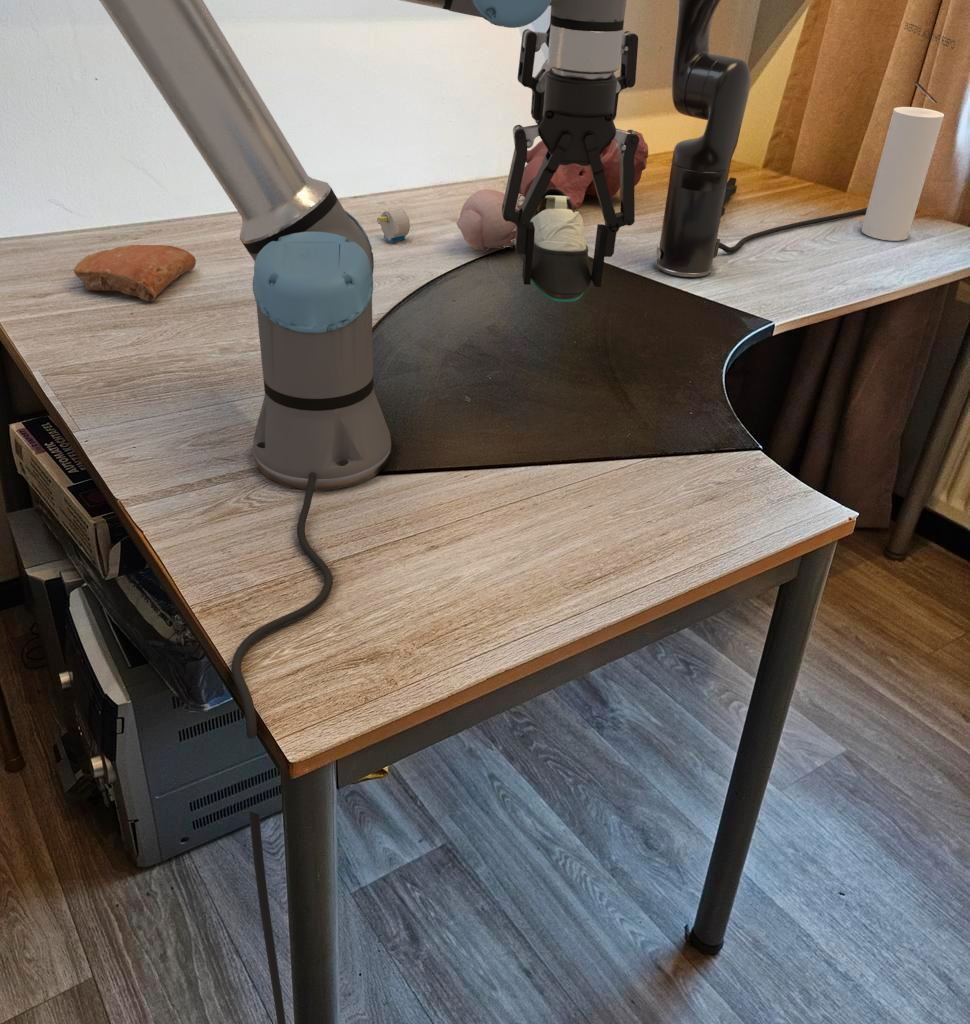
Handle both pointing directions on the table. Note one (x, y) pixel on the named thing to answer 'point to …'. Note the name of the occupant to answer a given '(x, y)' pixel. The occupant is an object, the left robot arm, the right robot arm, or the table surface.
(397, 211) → the electric motor
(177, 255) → the ceramic shard
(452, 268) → the table surface
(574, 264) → the ballet flat
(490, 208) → the toy
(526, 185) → the reddish-brown lumpy piece
